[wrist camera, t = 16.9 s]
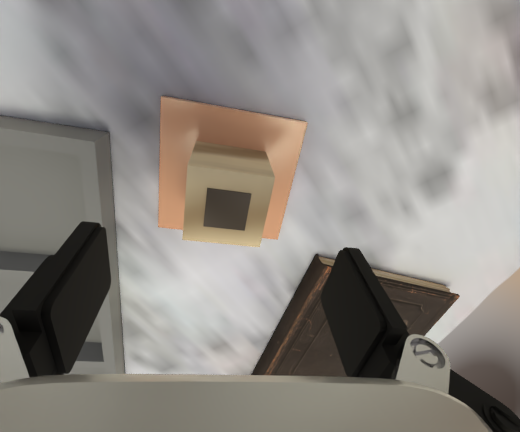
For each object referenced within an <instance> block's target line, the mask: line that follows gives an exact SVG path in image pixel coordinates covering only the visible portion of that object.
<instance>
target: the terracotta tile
mask: <svg viewBox="0 0 520 432" xmlns="http://www.w3.org/2000/svg"><path fill="white" fill-rule="evenodd" d="M307 124H308V123H307V122H306V121H301V120H295V119H290V118H284V117H279V116H273V115H268V114H262V113H256V112H251V111H245V110H240V109H234V108H229V107H223V106H218V105H212V104H206V103H201V102H195V101H190V100H184V99H179V98H173V97H168V96H161V110H160V165H159V219H158V227H162V228H171V229H181V230H183V224H184V209H185V194H186V179H187V165H188V162H189V160H190V157H191V154H192V151H193V149H194V146H195V143H196V141H201V142H207V143H213V144H220V145H226V146H233V147H239V148H245V149H252V150H258V151H265V152H266V154H267V156H268V159H269V162H270V165H271V167H272V170H273V173H274V175H275V181H274V186H273V190H272V194H271V199H270V203H269V208H268V212H267V217H266V221H265V225H264V230H263V234H262V238H268V239H277V240H278V236H279V232H280V228H281V224H282V220H283V217H284V213H285V209H286V205H287V201H288V197H289V193H290V190H291V186H292V182H293V178H294V174H295V170H296V166H297V163H298V159H299V155H300V151H301V147H302V143H303V139H304V136H305V132H306V128H307Z"/></svg>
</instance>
